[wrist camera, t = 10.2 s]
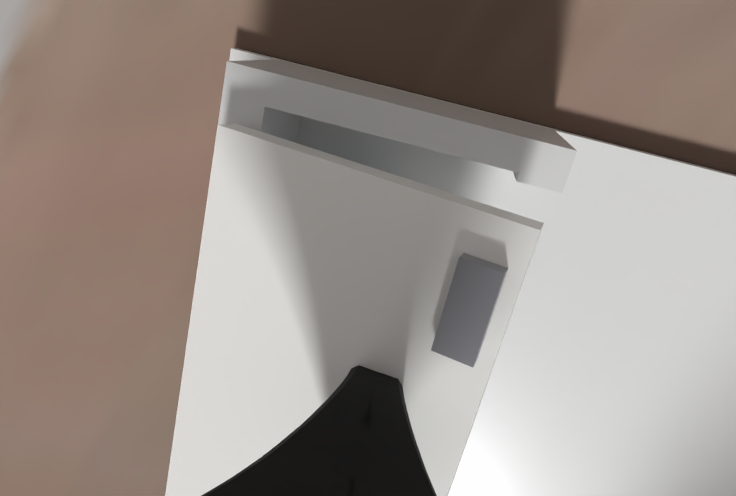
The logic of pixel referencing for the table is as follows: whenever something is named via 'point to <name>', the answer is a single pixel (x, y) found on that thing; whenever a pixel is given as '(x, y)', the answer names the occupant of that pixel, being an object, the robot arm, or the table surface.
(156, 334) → the table surface
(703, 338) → the white storage tray
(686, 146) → the table surface
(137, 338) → the table surface
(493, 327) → the cover
